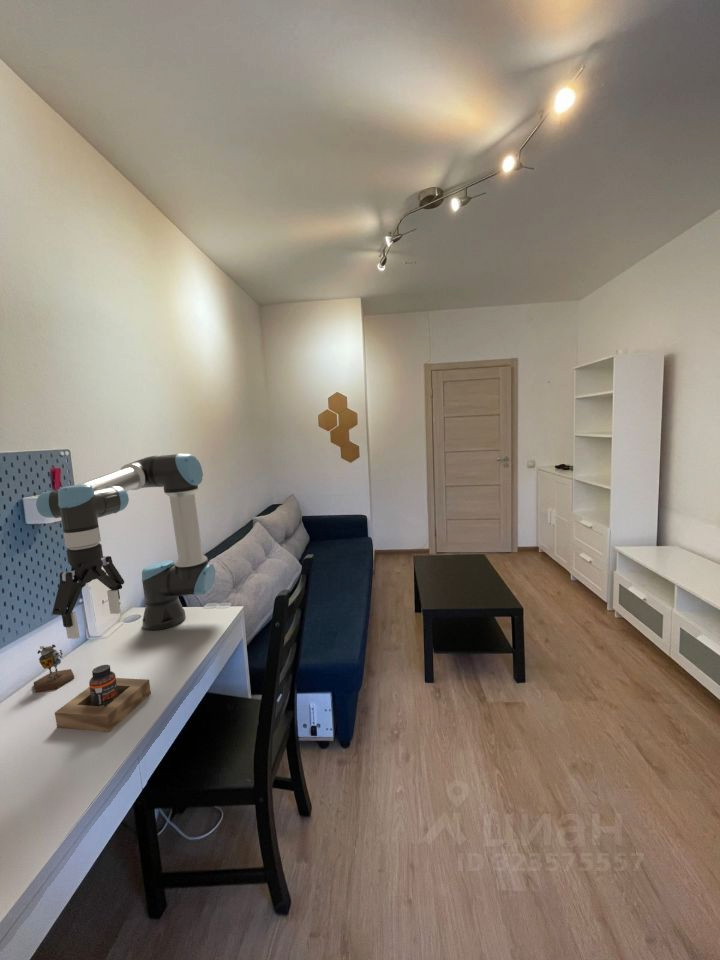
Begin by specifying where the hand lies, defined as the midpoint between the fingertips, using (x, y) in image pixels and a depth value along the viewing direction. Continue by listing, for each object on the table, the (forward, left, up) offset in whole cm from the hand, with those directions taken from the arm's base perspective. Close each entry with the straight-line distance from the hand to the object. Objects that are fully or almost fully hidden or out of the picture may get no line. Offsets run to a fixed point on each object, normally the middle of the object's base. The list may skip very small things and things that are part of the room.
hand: (95, 624), depth 108 cm
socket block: (+1, +1, -23) cm, 23 cm away
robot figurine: (-9, -26, -23) cm, 36 cm away
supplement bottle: (+1, +1, -23) cm, 23 cm away
